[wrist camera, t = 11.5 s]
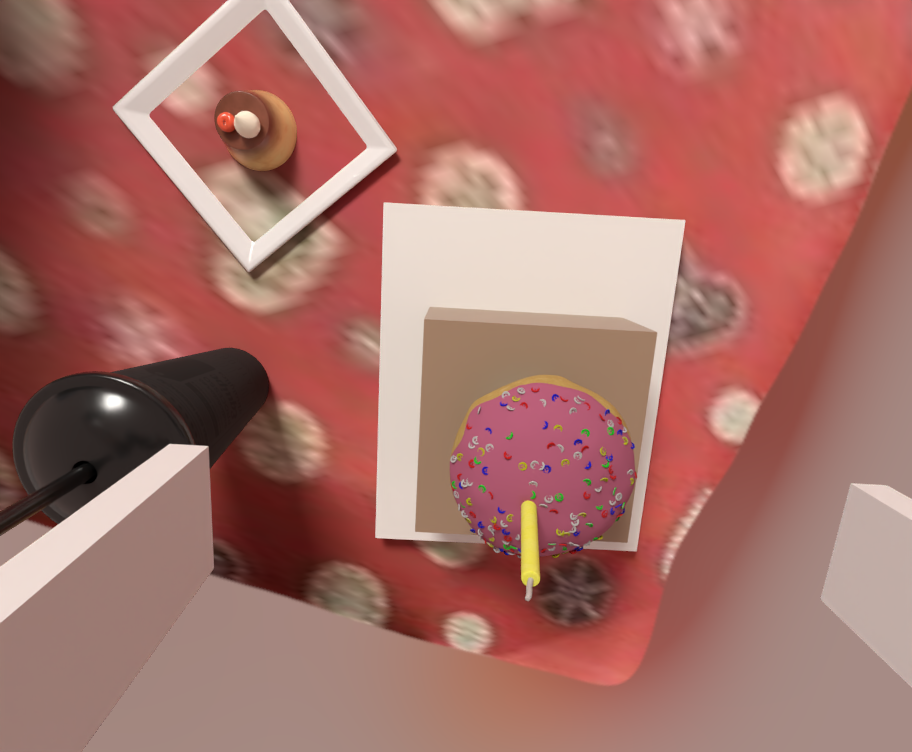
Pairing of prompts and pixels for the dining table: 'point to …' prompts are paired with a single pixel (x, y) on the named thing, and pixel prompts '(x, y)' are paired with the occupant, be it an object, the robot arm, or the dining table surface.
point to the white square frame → (251, 125)
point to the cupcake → (541, 469)
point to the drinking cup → (126, 425)
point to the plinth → (507, 283)
